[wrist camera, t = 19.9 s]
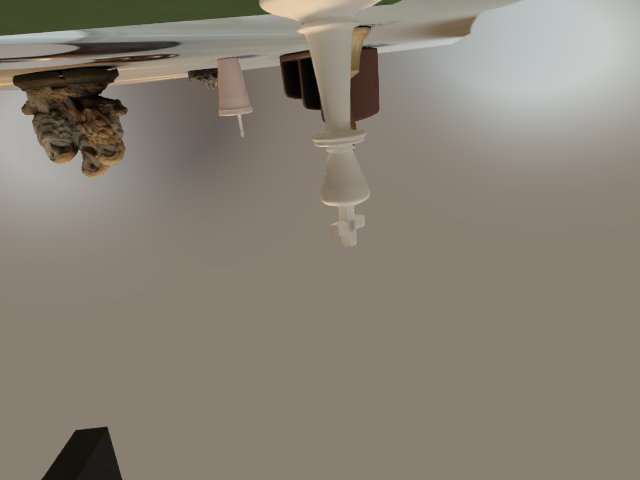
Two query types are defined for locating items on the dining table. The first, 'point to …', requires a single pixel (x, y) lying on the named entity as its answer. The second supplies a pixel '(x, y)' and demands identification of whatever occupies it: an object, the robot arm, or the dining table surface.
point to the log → (205, 76)
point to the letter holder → (305, 86)
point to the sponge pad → (116, 13)
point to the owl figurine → (75, 116)
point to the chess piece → (333, 100)
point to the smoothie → (232, 90)
